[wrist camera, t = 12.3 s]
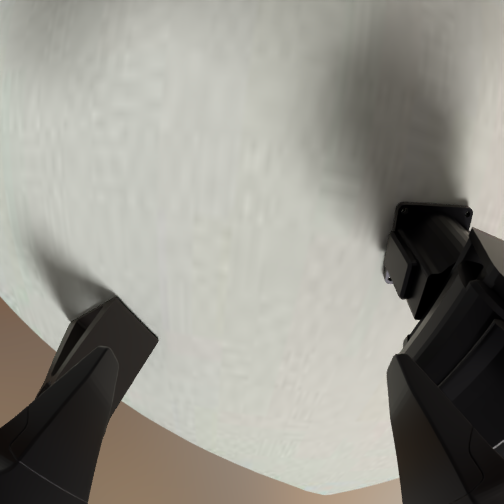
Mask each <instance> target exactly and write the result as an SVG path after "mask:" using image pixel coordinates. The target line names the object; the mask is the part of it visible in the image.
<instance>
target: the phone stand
mask: <svg viewBox="0 0 504 504" xmlns="http://www.w3.org/2000/svg"><path fill="white" fill-rule="evenodd" d="M158 341H159V340H158V339H157V338H156V337H155V336H154V335H153V334H152V333H151V332H150V331H149V330H148V329H147V328H146V327H145V326H144V325H143V324H142V323H141V322H140V321H139V320H138V319H137V318H136V317H135V316H134V315H133V314H132V313H131V312H130V311H129V310H128V309H127V308H126V307H125V306H124V305H123V304H122V302H121V301H120V300H119V299H118V298H117V297H114V298H112V299H111V300H109V301H107V302H105V303H104V304H102V305H100V306H98V307H96V308H95V309H93V310H92V311H89V312H88V313H86V314H84V315H82V316H81V317H79V318H77V319H75V320H74V321H72V322H71V323H70V324H69V326H68V328H67V330H66V333H65V335H64V337H63V339H62V341H61V343H60V346H59V348H58V350H57V352H56V355H55V357H54V359H53V362H52V364H51V367H50V369H49V371H48V374H47V376H46V379H45V381H44V383H43V385H42V387H41V389H40V391H39V392H38V394H37V396H36V398H38V397H39V396H40V395H41V394H42V393H43V392H44V391H46V390H47V389H48V388H49V387H50V386H51V385H53V384H54V383H55V382H56V381H57V380H58V379H60V378H61V377H62V376H63V375H64V374H66V373H67V372H68V371H69V370H70V369H71V368H73V367H74V366H75V365H76V364H77V363H79V362H80V361H81V360H82V359H83V358H84V357H86V356H87V355H88V354H89V353H90V352H92V351H93V350H94V349H95V348H96V347H98V346H105V347H109V348H111V350H112V352H113V354H114V355H115V357H116V359H117V361H118V364H119V369H118V374H117V380H116V385H115V390H114V396H113V401H112V406H111V410H110V414H109V417H108V421H107V424H106V428H107V425H108V422H109V420H110V418H111V416H112V414H113V413H114V411H115V409H116V408H117V406H118V405H119V403H120V401H121V400H122V398H123V397H124V395H125V393H126V392H127V390H128V389H129V387H130V385H131V384H132V382H133V381H134V379H135V377H136V376H137V374H138V373H139V371H140V370H141V368H142V366H143V365H144V363H145V362H146V360H147V359H148V357H149V355H150V354H151V352H152V351H153V349H154V348H155V346H156V345H157V343H158ZM36 398H35V399H36ZM106 428H105V431H106ZM104 434H105V432H104ZM103 437H104V435H103Z"/></svg>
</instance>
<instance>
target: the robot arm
mask: <svg viewBox="0 0 504 504" xmlns="http://www.w3.org/2000/svg"><path fill="white" fill-rule="evenodd" d="M403 208H406V210H405V211H404V212H401V211H402V209H403ZM467 211H468V213H467V214H466V215H465V213H466V212H467ZM472 215H473V211H472V209H471V208H470V207H468V206H462V205H447V204H430V203H409V202H402V203H400V204H398V206H397V208H396V213H395V219H394V225H393V231H391V232H390V234H389V238H388V243H387V249H386V254H385V259H384V265H385V267H386V268H385V272H384V279H385V281H386V283H388V284H394V287H395V289H396V291H397V293H398V296H399V297H400V298H401V299H406V300H407V303H408V305H409V307H410V309H411V312H412V314H413V316H414V319H415V320H420V321H419V322H418V324H417V325H416V327H415V328H414V330H413V331H412V332H411V334H410V335H408V336H407V337H406V338H405V340H404V342H403V349H402V350H401V352H400V353H399V354H395V355H394V356H393V358H392V361H391V363H390V365H389V367H388V370H387V385H388V397H389V410H390V420H391V426H392V431H393V437H394V443H395V449H396V456H397V462H398V469H399V477H400V484H401V493H402V502H403V504H504V241H503V240H501V239H499V238H497V237H495V236H492V235H490V234H488V233H485V232H483V231H481V230H478V229H476V228H474V227H472V229H471V231H469V227H470V223H471V219H472ZM389 277H390V278H389ZM118 369H119V364H118V361H117V359H116V357H115V355H114V354H113V352H112V350H111V348H109V347H105V346H98V347H96V348H95V349H94V350H93V351H92V352H90V353H89V354H88V355H87V356H86V357H84V358H83V359H82V360H81V361H80V362H79V363H77V364H76V365H75V366H74V367H73V368H71V369H70V370H69V371H68V372H67V373H66V374H64V375H63V376H62V377H61V378H60V379H58V380H57V381H56V382H55V383H54V384H53V385H51V386H50V387H49V388H48V389H47V390H46V391H44V392H43V393H42V394H41V395H40V396H39V397H38V398H36V399H35V400H34V401H33V402H32V403H31V404H29V406H27V407H26V408H25V409H24V410H22V411H21V412H20V413H19V414H18V415H17V416H15V417H14V418H13V419H12V420H10V421H9V422H8V423H6V424H5V425H4V426H2V427H1V428H0V504H88V503H87V502H88V499H89V494H90V489H91V485H92V480H93V476H94V471H95V467H96V463H97V458H98V455H99V451H100V447H101V443H102V439H103V435H104V432H105V428H106V424H107V421H108V417H109V414H110V410H111V406H112V401H113V396H114V390H115V385H116V380H117V374H118Z"/></svg>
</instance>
